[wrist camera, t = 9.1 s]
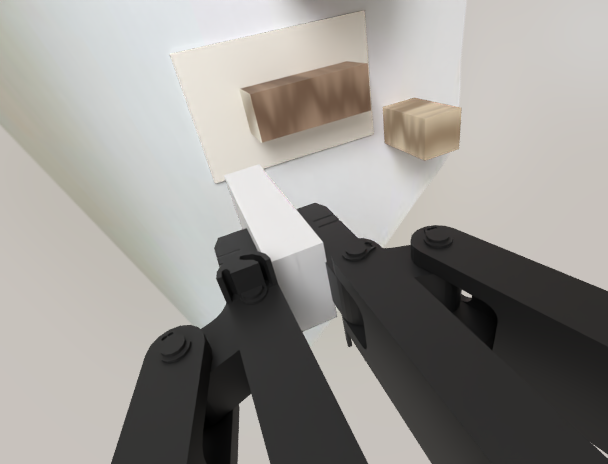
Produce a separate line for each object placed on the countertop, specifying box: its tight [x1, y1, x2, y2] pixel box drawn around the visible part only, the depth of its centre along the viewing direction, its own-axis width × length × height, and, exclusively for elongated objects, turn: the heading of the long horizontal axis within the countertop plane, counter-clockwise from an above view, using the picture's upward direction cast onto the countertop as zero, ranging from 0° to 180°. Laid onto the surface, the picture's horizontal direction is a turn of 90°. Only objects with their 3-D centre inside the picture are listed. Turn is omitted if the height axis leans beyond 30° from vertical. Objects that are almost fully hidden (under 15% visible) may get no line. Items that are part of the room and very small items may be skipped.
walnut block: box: [239, 61, 371, 143], centre depth 35 cm, size 4×4×12 cm
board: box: [170, 10, 374, 184], centre depth 37 cm, size 13×20×1 cm, turn 101°
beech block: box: [383, 98, 461, 161], centre depth 40 cm, size 4×4×8 cm
